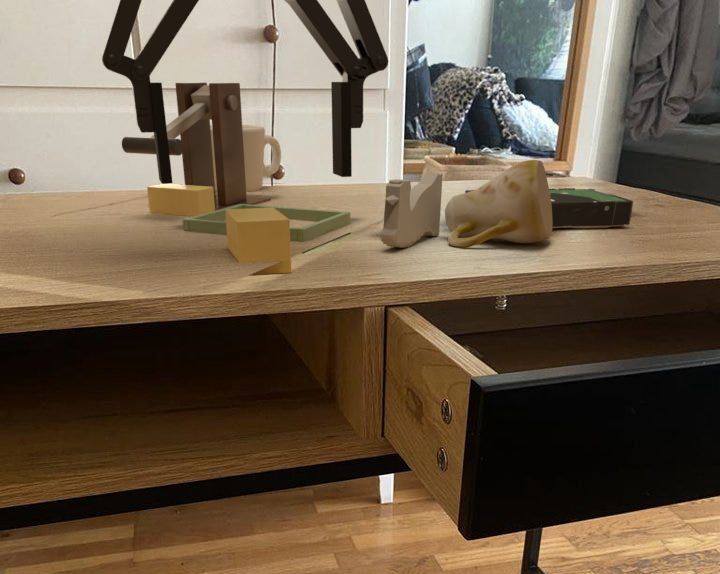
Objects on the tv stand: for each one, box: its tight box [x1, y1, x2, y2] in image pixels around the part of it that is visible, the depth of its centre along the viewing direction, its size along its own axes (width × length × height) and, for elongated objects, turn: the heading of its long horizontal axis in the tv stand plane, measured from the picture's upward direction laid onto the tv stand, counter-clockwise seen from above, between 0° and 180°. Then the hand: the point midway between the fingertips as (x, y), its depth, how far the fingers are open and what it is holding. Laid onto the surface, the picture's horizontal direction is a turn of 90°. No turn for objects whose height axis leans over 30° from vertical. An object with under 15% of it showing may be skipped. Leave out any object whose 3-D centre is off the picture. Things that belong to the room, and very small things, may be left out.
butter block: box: [146, 183, 215, 217], centre depth 78 cm, size 6×3×4 cm, turn 67°
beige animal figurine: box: [379, 172, 443, 249], centre depth 69 cm, size 6×1×10 cm
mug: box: [444, 159, 554, 248], centre depth 70 cm, size 8×10×10 cm
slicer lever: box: [121, 84, 212, 157], centre depth 76 cm, size 13×6×2 cm, turn 157°
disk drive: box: [464, 187, 634, 230], centre depth 80 cm, size 10×3×15 cm
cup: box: [210, 124, 282, 193], centre depth 95 cm, size 11×8×8 cm
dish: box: [182, 204, 351, 254], centre depth 72 cm, size 12×10×2 cm
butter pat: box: [225, 208, 292, 276], centre depth 61 cm, size 6×4×4 cm, turn 17°
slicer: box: [174, 81, 272, 211], centre depth 81 cm, size 10×8×13 cm
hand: (256, 178), depth 58 cm, fingers open, 13 cm apart
